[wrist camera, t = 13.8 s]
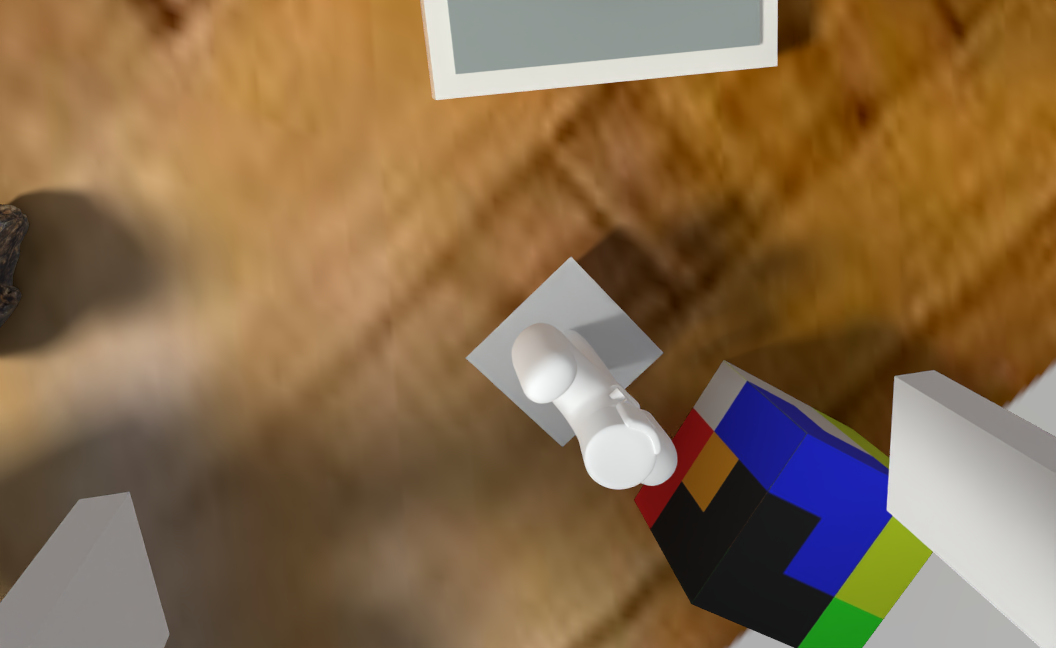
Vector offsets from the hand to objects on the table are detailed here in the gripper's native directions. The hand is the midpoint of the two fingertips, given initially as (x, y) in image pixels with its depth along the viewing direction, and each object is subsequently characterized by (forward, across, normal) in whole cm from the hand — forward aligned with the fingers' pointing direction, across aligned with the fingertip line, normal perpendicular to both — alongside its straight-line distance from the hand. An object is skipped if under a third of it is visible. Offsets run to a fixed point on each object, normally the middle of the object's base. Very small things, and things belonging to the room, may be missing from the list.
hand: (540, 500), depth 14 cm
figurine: (+29, +5, -7) cm, 30 cm away
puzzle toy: (+29, +16, -17) cm, 37 cm away
